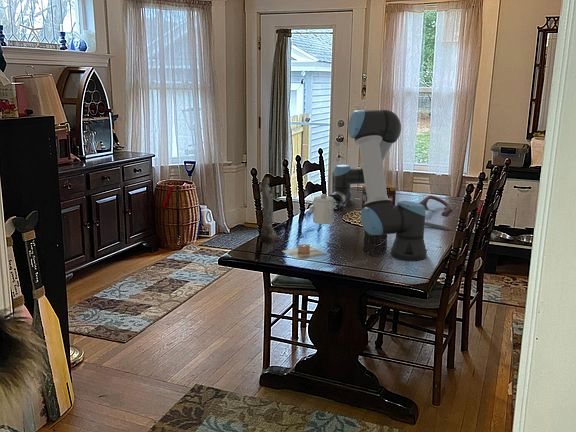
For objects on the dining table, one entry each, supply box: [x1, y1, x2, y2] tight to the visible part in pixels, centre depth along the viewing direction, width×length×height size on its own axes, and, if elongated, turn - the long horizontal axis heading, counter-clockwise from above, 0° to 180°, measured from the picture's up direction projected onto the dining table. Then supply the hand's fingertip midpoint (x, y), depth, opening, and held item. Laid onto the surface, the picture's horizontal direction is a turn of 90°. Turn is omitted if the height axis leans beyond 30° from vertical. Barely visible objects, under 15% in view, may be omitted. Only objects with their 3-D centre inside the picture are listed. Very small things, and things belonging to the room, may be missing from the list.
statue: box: [259, 177, 279, 244], centre depth 252 cm, size 8×7×30 cm
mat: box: [324, 238, 341, 246], centre depth 250 cm, size 12×12×1 cm
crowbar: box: [424, 221, 451, 231], centre depth 284 cm, size 40×2×5 cm, turn 60°
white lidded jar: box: [312, 193, 335, 225], centre depth 246 cm, size 9×9×12 cm
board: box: [281, 246, 327, 261], centre depth 235 cm, size 14×14×1 cm
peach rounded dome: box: [297, 243, 311, 254], centre depth 235 cm, size 5×5×3 cm
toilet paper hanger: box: [418, 195, 452, 217], centre depth 311 cm, size 28×7×17 cm
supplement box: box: [361, 183, 397, 210], centre depth 304 cm, size 10×15×16 cm
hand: (320, 210), depth 242 cm, fingers closed on white lidded jar, 9 cm apart
